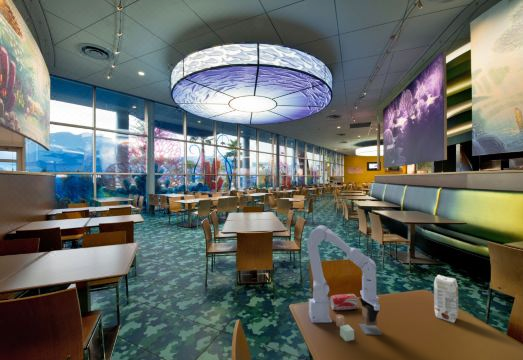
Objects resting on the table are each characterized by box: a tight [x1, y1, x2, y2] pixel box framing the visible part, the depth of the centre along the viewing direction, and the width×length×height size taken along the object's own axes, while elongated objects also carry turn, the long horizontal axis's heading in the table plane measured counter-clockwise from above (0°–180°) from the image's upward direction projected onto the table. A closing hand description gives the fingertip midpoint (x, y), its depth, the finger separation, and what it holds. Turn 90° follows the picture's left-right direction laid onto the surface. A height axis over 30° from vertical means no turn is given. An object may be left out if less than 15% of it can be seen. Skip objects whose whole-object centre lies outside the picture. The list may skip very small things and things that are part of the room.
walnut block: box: [361, 305, 378, 326], centre depth 105 cm, size 4×4×6 cm
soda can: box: [329, 293, 359, 311], centre depth 123 cm, size 7×7×13 cm
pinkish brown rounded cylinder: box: [335, 313, 345, 329], centre depth 108 cm, size 4×4×4 cm
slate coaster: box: [358, 323, 383, 336], centre depth 105 cm, size 7×7×1 cm
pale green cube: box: [339, 324, 355, 342], centre depth 100 cm, size 4×4×4 cm
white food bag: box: [433, 274, 459, 324], centre depth 114 cm, size 8×9×19 cm
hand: (369, 318), depth 105 cm, fingers closed on walnut block, 4 cm apart
